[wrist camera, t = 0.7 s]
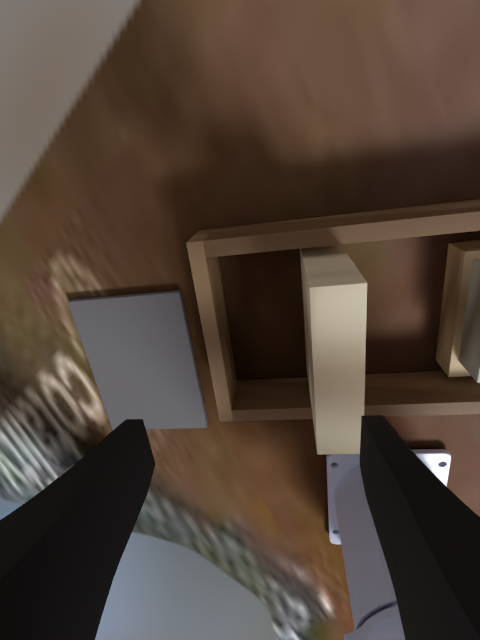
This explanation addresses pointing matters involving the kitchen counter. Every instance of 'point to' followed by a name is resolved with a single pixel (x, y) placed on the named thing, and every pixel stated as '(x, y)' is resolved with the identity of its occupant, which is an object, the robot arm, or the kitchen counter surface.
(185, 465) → the kitchen counter surface
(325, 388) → the cream flat block
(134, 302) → the rubber mat
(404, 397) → the tray
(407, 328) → the kitchen counter surface
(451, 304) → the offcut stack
